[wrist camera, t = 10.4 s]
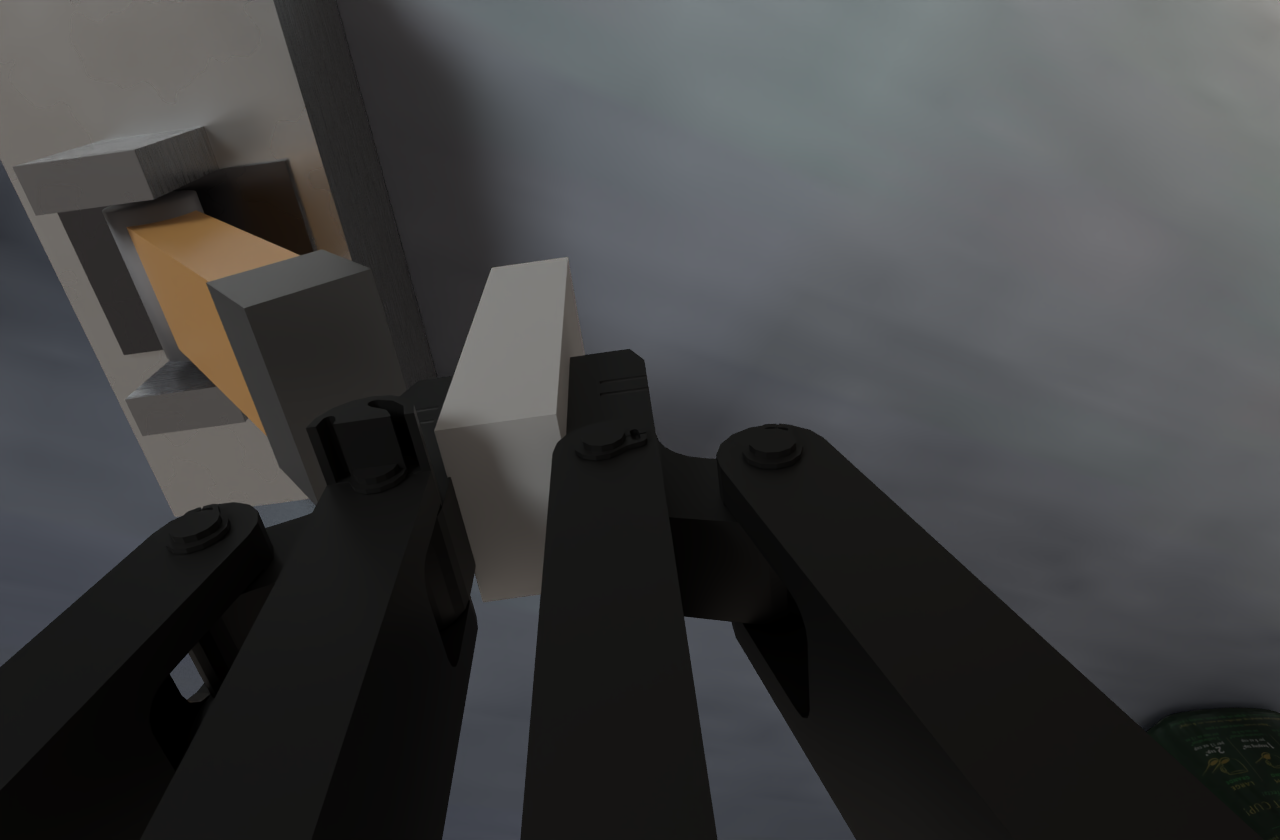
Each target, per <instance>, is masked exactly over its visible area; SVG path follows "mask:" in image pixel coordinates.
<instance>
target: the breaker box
mask: <svg viewBox="0 0 1280 840" xmlns="http://www.w3.org/2000/svg"><path fill="white" fill-rule="evenodd" d="M0 159H1V161H2V163H3V166H4V168H5V170H6V172H7V174H8V176H9V178H10V180H11V182H12V184H13V186H14V188H15V190H16V192H17V194H18V196H19V198H20V200H21V202H22V204H23V206H24V209H25V211H26V213H27V215H28V217H29V219H30V221H31V223H32V225H33V227H34V229H35V231H36V233H37V235H38V237H39V239H40V241H41V243H42V245H43V247H44V249H45V252H46V254H47V256H48V258H49V260H50V262H51V264H52V266H53V268H54V270H55V272H56V274H57V276H58V278H59V280H60V282H61V284H62V286H63V288H64V290H65V292H66V295H67V297H68V299H69V301H70V303H71V305H72V307H73V309H74V311H75V313H76V315H77V317H78V319H79V321H80V323H81V325H82V327H83V329H84V331H85V333H86V336H87V338H88V340H89V342H90V344H91V346H92V348H93V350H94V352H95V354H96V356H97V358H98V360H99V362H100V364H101V366H102V368H103V370H104V372H105V374H106V376H107V379H108V381H109V383H110V385H111V387H112V389H113V391H114V393H115V395H116V397H117V399H118V401H119V403H120V405H121V407H122V409H123V411H124V413H125V415H126V417H127V419H128V422H129V424H130V426H131V428H132V430H133V432H134V434H135V436H136V438H137V440H138V442H139V444H140V446H141V448H142V450H143V452H144V454H145V456H146V458H147V460H148V462H149V465H150V467H151V469H152V471H153V473H154V475H155V477H156V479H157V481H158V483H159V485H160V487H161V489H162V491H163V493H164V495H165V497H166V499H167V501H168V503H169V506H170V508H171V510H172V512H173V514H174V516H175V517H178V516H183V515H184V514H185V513H186V512H188V511H190V510H193V509H196V508H199V507H201V508H203V506H206V505H210V504H222V503H231V502H237V503H243V504H250V505H251V506H259V505H267V504H274V503H282V502H289V501H296V500H304V499H309V498H308V497H307V496H306V495H305V494H304V493H303V492H302V491H301V490H300V488H299V487H298V486H297V485H296V484H295V483H294V482H293V481H292V480H291V479H290V478H289V477H288V476H287V475H286V474H285V473H284V472H283V471H282V470H281V469H280V468H279V465H278V463H277V460H276V458H275V455H274V453H273V450H272V448H271V445H270V443H269V440H268V438H267V436H266V435H265V434H264V433H263V432H262V431H261V430H260V429H259V428H258V427H257V426H256V425H255V424H254V423H253V422H252V421H251V420H250V419H249V418H248V417H247V416H246V415H245V414H244V413H243V412H242V411H241V410H240V409H239V408H238V407H237V406H236V405H235V404H234V403H233V402H232V401H231V400H230V399H229V398H228V397H227V396H226V395H225V394H224V393H223V392H222V391H221V390H220V389H219V388H218V387H217V386H216V385H215V384H214V383H213V382H212V381H211V380H210V379H209V378H208V377H207V376H206V375H205V374H204V373H203V372H202V371H201V370H200V369H199V368H198V367H197V366H196V365H195V364H194V363H193V362H192V361H182V362H178V361H171V360H169V359H167V357H166V355H165V352H164V350H163V348H162V346H161V343H160V341H159V339H158V337H157V334H156V332H155V330H154V328H153V325H152V323H151V321H150V319H149V316H148V314H147V312H146V309H145V307H144V305H143V303H142V300H141V298H140V296H139V294H138V291H137V289H136V287H135V285H134V282H133V280H132V278H131V276H130V273H129V271H128V269H127V267H126V264H125V262H124V260H123V258H122V255H121V253H120V251H119V248H118V246H117V244H116V242H115V239H114V237H113V235H112V233H111V230H110V228H109V226H108V224H107V221H106V219H105V217H104V215H103V212H102V210H103V209H104V208H106V207H109V206H111V205H118V204H125V203H132V202H139V201H147V200H154V199H156V198H158V197H160V196H163V195H165V194H167V193H169V192H172V191H181V190H194V191H196V193H197V196H198V198H199V201H200V203H201V206H202V209H203V211H204V214H206V215H208V216H211V217H213V218H215V219H218V220H220V221H222V222H224V223H227V224H229V225H231V226H234V227H236V228H238V229H241V230H243V231H245V232H248V233H250V234H252V235H254V236H257V237H259V238H261V239H264V240H266V241H268V242H271V243H273V244H275V245H277V246H280V247H282V248H284V249H287V250H289V251H291V252H294V253H296V254H298V255H300V256H301V255H304V254H308V253H311V252H315V251H318V250H321V249H323V250H325V251H328V252H330V253H333V254H335V255H338V256H340V257H343V258H345V259H348V260H350V261H353V262H355V263H358V264H361V265H363V266H366V267H368V268H371V270H372V273H373V277H374V280H375V284H376V287H377V290H378V294H379V297H380V301H381V304H382V308H383V311H384V314H385V318H386V321H387V325H388V328H389V331H390V335H391V338H392V342H393V345H394V349H395V352H396V355H397V359H398V362H399V366H400V369H401V373H402V376H403V379H404V383H405V386H406V390H408V389H409V388H410V387H411V386H413V385H414V384H415V383H416V382H418V381H420V380H427V379H434V378H437V375H436V371H435V367H434V364H433V360H432V356H431V353H430V349H429V345H428V341H427V338H426V334H425V330H424V327H423V323H422V319H421V316H420V312H419V308H418V304H417V301H416V297H415V293H414V290H413V286H412V282H411V278H410V275H409V271H408V267H407V264H406V260H405V256H404V252H403V249H402V245H401V241H400V238H399V234H398V230H397V226H396V223H395V219H394V215H393V212H392V208H391V204H390V200H389V197H388V193H387V189H386V186H385V182H384V178H383V175H382V171H381V167H380V163H379V160H378V156H377V152H376V149H375V145H374V141H373V137H372V134H371V130H370V126H369V123H368V119H367V115H366V111H365V108H364V104H363V100H362V97H361V93H360V89H359V85H358V82H357V78H356V74H355V71H354V67H353V63H352V59H351V56H350V52H349V48H348V45H347V41H346V37H345V34H344V30H343V26H342V22H341V19H340V15H339V11H338V8H337V4H336V0H0Z"/></svg>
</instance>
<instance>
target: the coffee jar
mask: <svg viewBox="0 0 1280 840" xmlns="http://www.w3.org/2000/svg"><path fill="white" fill-rule="evenodd" d="M1146 733H1147V734H1149V735H1150V736H1151V737H1152V738H1153V739H1154V740H1155V741H1156V742H1157V743H1158V744H1160V745H1161V746H1162V747H1163V748H1164V749H1165V750H1166V751H1167V752H1168V753H1169V754H1170V755H1172V756H1173V757H1174V758H1175V759H1176V760H1177V761H1178V762H1179V763H1180V764H1181V765H1183V766H1184V767H1185V768H1186V769H1187V770H1188V771H1189V772H1190V773H1191V774H1192V775H1194V776H1195V777H1196V778H1197V779H1198V780H1199V781H1200V782H1201V783H1202V784H1203V785H1204V786H1206V787H1207V788H1208V789H1209V790H1210V791H1211V792H1212V793H1213V794H1214V795H1215V796H1217V797H1218V798H1219V799H1220V800H1221V801H1222V802H1223V803H1224V804H1225V805H1226V806H1227V807H1229V808H1230V809H1231V810H1232V811H1233V812H1234V813H1235V814H1236V815H1237V816H1238V817H1240V818H1241V819H1242V820H1243V821H1244V822H1245V823H1246V824H1247V825H1248V826H1249V827H1250V828H1252V829H1253V830H1254V831H1255V832H1256V833H1257V834H1258V835H1259V836H1260V837H1261V838H1263V839H1264V840H1280V713H1277V712H1274V711H1271V710H1266V709H1256V708H1218V709H1204V710H1195V711H1188V712H1181V713H1176V714H1172V715H1170V716H1167V717H1165V718H1163V719H1162V720H1160V721H1159V722H1158V723H1157V724H1156V725H1155V726H1153V727H1152V728H1151V729H1149V730H1148V731H1147V732H1146Z"/></svg>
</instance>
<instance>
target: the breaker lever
mask: <svg viewBox="0 0 1280 840" xmlns="http://www.w3.org/2000/svg"><path fill="white" fill-rule="evenodd" d="M102 212H103V215H104V217H105V219H106V221H107V224H108V226H109V228H110V230H111V233H112V235H113V237H114V239H115V242H116V244H117V246H118V248H119V251H120V253H121V255H122V258H123V260H124V262H125V264H126V267H127V269H128V271H129V273H130V276H131V278H132V280H133V282H134V285H135V287H136V289H137V291H138V294H139V296H140V298H141V300H142V303H143V305H144V307H145V309H146V312H147V314H148V316H149V319H150V321H151V323H152V325H153V328H154V330H155V332H156V334H157V337H158V339H159V341H160V343H161V346H162V348H163V350H164V352H165V355H166V357H167V359H169V360H171V361H178V362H182V361H192V362H193V363H194V364H195V365H196V366H197V367H198V368H199V369H200V370H201V371H202V372H203V373H204V374H205V375H206V376H207V377H208V378H209V379H210V380H211V381H212V382H213V383H214V384H215V385H216V386H217V387H218V388H219V389H220V390H221V391H222V392H223V393H224V394H225V395H226V396H227V397H228V398H229V399H230V400H231V401H232V402H233V403H234V404H235V405H236V406H237V407H238V408H239V409H240V410H241V411H242V412H243V413H244V414H245V415H246V416H247V417H248V418H249V419H250V420H251V421H252V422H253V423H254V424H255V425H256V426H257V427H258V428H259V429H260V430H261V431H262V432H263V433H264V434H265V435H266V436H267V438H268V440H269V443H270V445H271V448H272V450H273V453H274V455H275V458H276V460H277V463H278V465H279V468H280V469H281V470H282V471H283V472H284V473H285V474H286V475H287V476H288V477H289V478H290V479H291V480H292V481H293V482H294V483H295V484H296V485H297V486H298V487H299V488H300V490H301V491H302V492H303V493H304V494H305V495H306V496H307V497H308V498H309V499H310V500H311V501H312V502H313V503H314V504H315V505H317V503H318V501H319V499H320V497H321V496H322V494H323V492H324V490H325V488H326V486H327V484H326V481H325V479H324V476H323V473H322V471H321V468H320V465H319V463H318V460H317V457H316V455H315V452H314V449H313V447H312V444H311V441H310V439H309V436H308V433H307V430H306V427H307V426H308V425H309V424H310V423H311V422H312V421H313V420H314V419H315V418H316V417H318V416H320V415H321V414H323V413H325V412H327V411H328V410H330V409H332V408H334V407H337V406H339V405H342V404H345V403H347V402H350V401H353V400H357V399H362V398H367V397H371V396H385V395H393V396H401V395H402V394H403V393H404V392H405V391H407V390H406V386H405V383H404V379H403V376H402V373H401V369H400V366H399V362H398V359H397V355H396V352H395V349H394V345H393V342H392V338H391V335H390V331H389V328H388V325H387V321H386V318H385V314H384V311H383V308H382V304H381V301H380V297H379V294H378V290H377V287H376V284H375V280H374V277H373V273H372V270H371V268H368V267H366V266H363V265H361V264H358V263H355V262H353V261H350V260H348V259H345V258H343V257H340V256H338V255H335V254H333V253H330V252H328V251H325V250H323V249H321V250H318V251H315V252H311V253H308V254H304V255H301V256H300V255H298V254H296V253H294V252H291V251H289V250H287V249H284V248H282V247H280V246H277V245H275V244H273V243H271V242H268V241H266V240H264V239H261V238H259V237H257V236H254V235H252V234H250V233H248V232H245V231H243V230H241V229H238V228H236V227H234V226H231V225H229V224H227V223H224V222H222V221H220V220H218V219H215V218H213V217H211V216H208V215H206V214H204V211H203V209H202V206H201V203H200V201H199V198H198V196H197V193H196V191H194V190H181V191H172V192H169V193H167V194H165V195H163V196H160V197H158V198H156V199H154V200H147V201H139V202H132V203H125V204H118V205H111V206H109V207H106V208H104V209H103V210H102Z"/></svg>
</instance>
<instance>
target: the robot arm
mask: <svg viewBox="0 0 1280 840" xmlns="http://www.w3.org/2000/svg"><path fill="white" fill-rule="evenodd" d="M306 430H307V433H308V436H309V439H310V441H311V444H312V447H313V449H314V452H315V455H316V457H317V460H318V463H319V465H320V468H321V471H322V473H323V476H324V479H325V481H326V484H327V486H326V488H325V490H324V492H323V494H322V496H321V497H320V499H319V501H318V503H317V505H316V507H315V509H314V511H313V513H311V514H308V515H305V516H303V517H300V518H296V519H293V520H290V521H287V522H284V523H281V524H277V525H274V526H271V527H268V528H265V527H264V524H263V522H262V520H261V517H260V515H259V513H258V511H257V510H256V509H254V508H253V507H252V506H251V505H250V504H243V503H237V502H231V503H222V504H210V505H206V506H203V508H201V507H199V508H196V509H193V510H190V511H188V512H186V513H185V514H184V515H183V516H181V517H179V518H177V519H175V520H172V521H170V522H169V523H168V524H166V525H165V526H163V527H162V528H160V529H159V530H158V531H156V532H155V533H153V534H152V535H151V536H150V537H149V538H147V539H146V540H145V541H144V542H143V543H142V544H141V545H139V546H138V547H137V548H136V549H135V550H134V551H133V552H131V553H130V554H129V555H128V556H127V557H126V558H125V559H123V560H122V561H121V562H120V563H119V564H118V565H117V566H115V567H114V568H113V569H112V570H111V571H110V572H109V573H107V574H106V575H105V576H104V577H103V578H102V579H101V580H99V581H98V582H97V583H96V584H95V585H94V586H93V587H91V588H90V589H89V590H88V591H87V592H86V593H85V594H83V595H82V596H81V597H80V598H79V599H78V600H77V601H75V602H74V603H73V604H72V605H71V606H70V607H69V608H67V609H66V610H65V611H64V612H63V613H62V614H61V615H59V616H58V617H57V618H56V619H55V620H54V621H53V622H51V623H50V624H49V625H48V626H47V627H46V628H45V629H43V630H42V631H41V632H40V633H39V634H38V635H37V636H35V637H34V638H33V639H32V640H31V641H30V642H29V643H27V644H26V645H25V646H24V647H23V648H22V649H21V650H19V651H18V652H17V653H16V654H15V655H14V656H13V657H11V658H10V659H9V660H8V661H7V662H6V663H5V664H3V665H2V666H1V667H0V840H442V836H443V831H444V825H445V819H446V813H447V807H448V801H449V795H450V789H451V783H452V778H453V772H454V766H455V760H456V754H457V748H458V742H459V736H460V730H461V725H462V719H463V713H464V707H465V701H466V695H467V689H468V683H469V677H470V672H471V666H472V660H473V654H474V648H475V642H476V636H477V630H478V625H477V617H476V613H475V610H474V606H473V603H472V600H471V596H470V593H471V588H472V583H473V578H474V573H475V576H476V579H477V583H478V586H479V590H480V593H481V597H482V600H483V602H488V601H495V600H502V599H510V598H517V597H524V596H531V595H539V594H541V597H540V609H539V622H538V634H537V646H536V658H535V670H534V682H533V694H532V706H531V718H530V730H529V743H528V755H527V767H526V779H525V791H524V803H523V815H522V827H521V839H520V840H717V834H716V827H715V820H714V814H713V807H712V800H711V794H710V787H709V780H708V774H707V767H706V760H705V754H704V747H703V741H702V734H701V727H700V721H699V714H698V707H697V701H696V694H695V687H694V681H693V674H692V667H691V661H690V654H689V647H688V641H687V634H686V627H685V621H684V616H685V617H694V618H703V619H712V620H721V621H730V622H732V626H733V629H734V633H735V636H736V638H737V640H738V642H739V643H740V645H741V647H742V648H743V650H744V652H745V653H746V655H747V657H748V659H749V660H750V662H751V664H752V665H753V667H754V669H755V670H756V672H757V674H758V675H759V677H760V679H761V680H762V682H763V684H764V685H765V687H766V689H767V690H768V692H769V694H770V696H771V697H772V699H773V701H774V702H775V704H776V706H777V707H778V709H779V711H780V712H781V714H782V716H783V717H784V719H785V721H786V722H787V724H788V726H789V727H790V729H791V731H792V733H793V734H794V736H795V738H796V739H797V741H798V743H799V744H800V746H801V748H802V749H803V751H804V753H805V754H806V756H807V758H808V759H809V761H810V763H811V764H812V766H813V768H814V770H815V771H816V773H817V775H818V776H819V778H820V780H821V781H822V783H823V785H824V786H825V788H826V790H827V791H828V793H829V795H830V796H831V798H832V800H833V801H834V803H835V805H836V806H837V808H838V810H839V812H840V813H841V815H842V817H843V818H844V820H845V822H846V823H847V825H848V827H849V828H850V830H851V832H852V833H853V835H854V837H855V838H856V840H1264V839H1263V838H1261V837H1260V836H1259V835H1258V834H1257V833H1256V832H1255V831H1254V830H1253V829H1252V828H1250V827H1249V826H1248V825H1247V824H1246V823H1245V822H1244V821H1243V820H1242V819H1241V818H1240V817H1238V816H1237V815H1236V814H1235V813H1234V812H1233V811H1232V810H1231V809H1230V808H1229V807H1227V806H1226V805H1225V804H1224V803H1223V802H1222V801H1221V800H1220V799H1219V798H1218V797H1217V796H1215V795H1214V794H1213V793H1212V792H1211V791H1210V790H1209V789H1208V788H1207V787H1206V786H1204V785H1203V784H1202V783H1201V782H1200V781H1199V780H1198V779H1197V778H1196V777H1195V776H1194V775H1192V774H1191V773H1190V772H1189V771H1188V770H1187V769H1186V768H1185V767H1184V766H1183V765H1181V764H1180V763H1179V762H1178V761H1177V760H1176V759H1175V758H1174V757H1173V756H1172V755H1170V754H1169V753H1168V752H1167V751H1166V750H1165V749H1164V748H1163V747H1162V746H1161V745H1160V744H1158V743H1157V742H1156V741H1155V740H1154V739H1153V738H1152V737H1151V736H1150V735H1149V734H1147V733H1146V732H1145V731H1144V730H1143V729H1142V728H1141V727H1140V726H1139V725H1138V724H1137V723H1135V722H1134V721H1133V720H1132V719H1131V718H1130V717H1129V716H1128V715H1127V714H1126V713H1124V712H1123V711H1122V710H1121V709H1120V708H1119V707H1118V706H1117V705H1116V704H1115V703H1114V702H1112V701H1111V700H1110V699H1109V698H1108V697H1107V696H1106V695H1105V694H1104V693H1103V692H1101V691H1100V690H1099V689H1098V688H1097V687H1096V686H1095V685H1094V684H1093V683H1092V682H1091V681H1089V680H1088V679H1087V678H1086V677H1085V676H1084V675H1083V674H1082V673H1081V672H1080V671H1078V670H1077V669H1076V668H1075V667H1074V666H1073V665H1072V664H1071V663H1070V662H1069V661H1068V660H1066V659H1065V658H1064V657H1063V656H1062V655H1061V654H1060V653H1059V652H1058V651H1057V650H1055V649H1054V648H1053V647H1052V646H1051V645H1050V644H1049V643H1048V642H1047V641H1046V640H1045V639H1043V638H1042V637H1041V636H1040V635H1039V634H1038V633H1037V632H1036V631H1035V630H1034V629H1032V628H1031V627H1030V626H1029V625H1028V624H1027V623H1026V622H1025V621H1024V620H1023V619H1022V618H1020V617H1019V616H1018V615H1017V614H1016V613H1015V612H1014V611H1013V610H1012V609H1011V608H1009V607H1008V606H1007V605H1006V604H1005V603H1004V602H1003V601H1002V600H1001V599H1000V598H998V597H997V596H996V595H995V594H994V593H993V592H992V591H991V590H990V589H989V588H988V587H986V586H985V585H984V584H983V583H982V582H981V581H980V580H979V579H978V578H977V577H975V576H974V575H973V574H972V573H971V572H970V571H969V570H968V569H967V568H966V567H965V566H963V565H962V564H961V563H960V562H959V561H958V560H957V559H956V558H955V557H954V556H952V555H951V554H950V553H949V552H948V551H947V550H946V549H945V548H944V547H943V546H942V545H940V544H939V543H938V542H937V541H936V540H935V539H934V538H933V537H932V536H931V535H929V534H928V533H927V532H926V531H925V530H924V529H923V528H922V527H921V526H920V525H919V524H917V523H916V522H915V521H914V520H913V519H912V518H911V517H910V516H909V515H908V514H906V513H905V512H904V511H903V510H902V509H901V508H900V507H899V506H898V505H897V504H896V503H894V502H893V501H892V500H891V499H890V498H889V497H888V496H887V495H886V494H885V493H883V492H882V491H881V490H880V489H879V488H878V487H877V486H876V485H875V484H874V483H873V482H871V481H870V480H869V479H868V478H867V477H866V476H865V475H864V474H863V473H862V472H860V471H859V470H858V469H857V468H856V467H855V466H854V465H853V464H852V463H851V462H850V461H848V460H847V459H846V458H845V457H844V456H843V455H842V454H841V453H840V452H839V451H837V450H836V449H835V448H834V447H833V446H832V445H831V444H830V443H829V442H828V441H826V440H825V439H824V438H823V437H821V436H819V435H818V434H816V433H814V432H813V431H811V430H808V429H804V428H800V427H796V426H792V425H787V424H779V425H776V424H765V425H763V426H758V427H752V428H748V429H745V430H743V431H740V432H738V433H735V434H733V435H731V436H730V437H729V438H728V439H727V440H725V441H724V442H723V443H722V444H721V445H720V447H719V450H718V452H717V455H716V459H708V458H697V457H689V456H685V455H682V454H678V453H675V452H673V451H671V450H669V449H667V448H666V447H664V446H663V445H662V444H661V443H660V442H659V441H658V438H657V436H656V433H655V427H654V420H653V414H652V407H651V401H650V394H649V388H648V381H647V375H646V368H645V362H644V359H642V358H641V357H640V356H638V355H637V354H636V353H634V352H633V351H632V350H630V349H626V350H619V351H611V352H604V353H597V354H590V355H585V353H584V347H583V341H582V335H581V330H580V324H579V318H578V312H577V306H576V301H575V295H574V289H573V283H572V278H571V272H570V266H569V260H568V257H565V258H557V259H550V260H543V261H536V262H529V263H522V264H515V265H507V266H500V267H493V268H491V271H490V274H489V277H488V279H487V282H486V285H485V288H484V291H483V294H482V296H481V299H480V302H479V305H478V308H477V311H476V313H475V316H474V319H473V322H472V325H471V328H470V331H469V333H468V336H467V339H466V342H465V345H464V348H463V350H462V353H461V356H460V359H459V362H458V365H457V367H456V370H455V373H454V376H449V377H441V378H434V379H427V380H420V381H418V382H416V383H415V384H414V385H413V386H411V387H410V388H409V389H408V390H407V391H405V392H404V393H403V394H402V395H401V396H393V395H385V396H371V397H367V398H362V399H357V400H353V401H350V402H347V403H345V404H342V405H339V406H337V407H334V408H332V409H330V410H328V411H327V412H325V413H323V414H321V415H320V416H318V417H316V418H315V419H314V420H313V421H312V422H311V423H310V424H309V425H308V426H307V427H306ZM188 653H189V655H190V657H191V659H192V661H193V662H194V664H195V666H196V668H197V670H198V672H199V674H200V676H201V677H202V679H203V681H204V684H203V685H202V687H201V688H200V689H199V690H198V691H197V693H195V694H194V695H193V696H191V697H190V698H189V699H188V700H186V699H185V698H184V697H183V696H182V695H181V693H180V692H179V690H178V688H177V686H176V684H175V683H174V681H173V679H172V677H171V676H170V673H171V672H172V670H173V669H174V668H175V667H176V666H177V665H178V664H179V663H180V661H181V660H182V659H183V658H184V657H185V656H186V655H187V654H188Z"/></svg>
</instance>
